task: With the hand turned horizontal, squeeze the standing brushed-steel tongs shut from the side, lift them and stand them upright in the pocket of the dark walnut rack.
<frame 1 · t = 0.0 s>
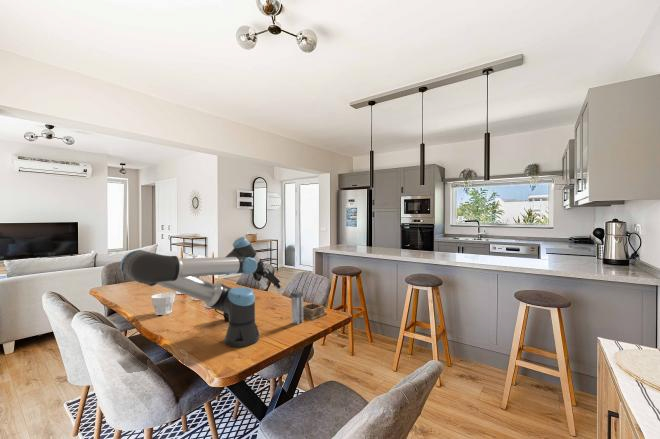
hand: (273, 289, 166), 15 cm above the table, tool tilted 35°, fingers open, 13 cm apart
coffee mug: (227, 319, 163), on the table
cup: (163, 314, 174), on the table
steel tongs: (297, 322, 156), on the table
walnut rack: (312, 315, 168), on the table
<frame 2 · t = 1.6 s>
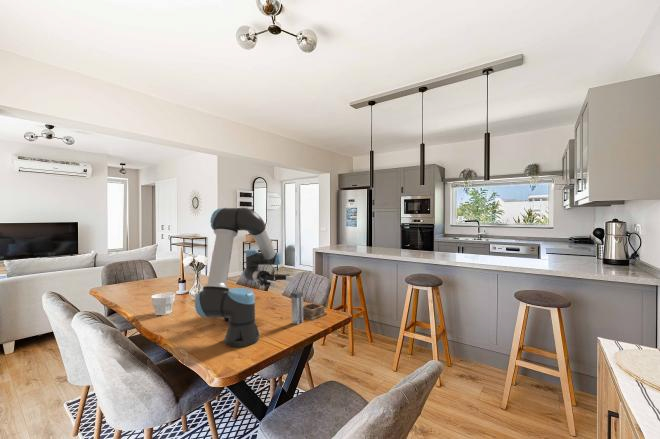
hand: (284, 282, 162), 20 cm above the table, tool horizontal, fingers open, 13 cm apart
nothing on the table moved.
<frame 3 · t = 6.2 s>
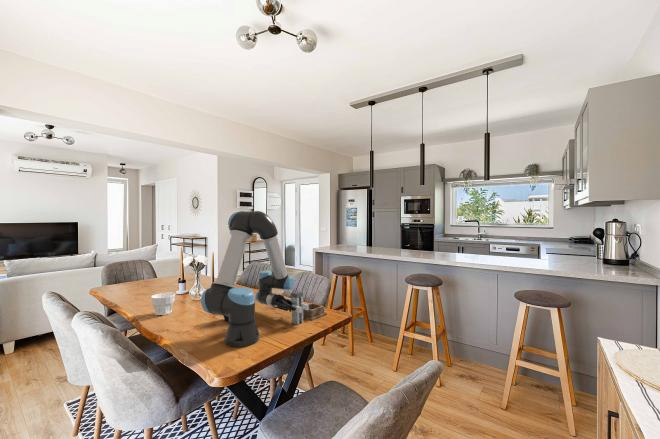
hand: (304, 308, 153), 8 cm above the table, tool horizontal, fingers closed on steel tongs, 4 cm apart
steel tongs: (297, 322, 156), on the table, touching gripper
everything else where it was.
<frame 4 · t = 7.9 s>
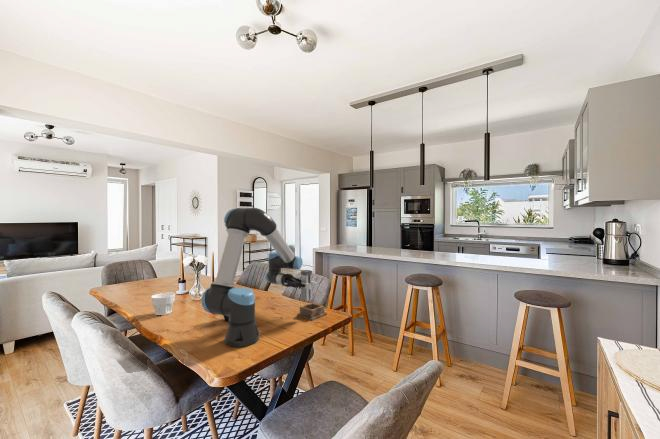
hand: (313, 285, 160), 19 cm above the table, tool horizontal, fingers closed on steel tongs, 4 cm apart
steel tongs: (306, 299, 164), point 10 cm above the table, touching gripper
everything else where it was.
when the fingers open (11 cm above the table, at t = 9.8 s): steel tongs drops 1 cm, resting on walnut rack.
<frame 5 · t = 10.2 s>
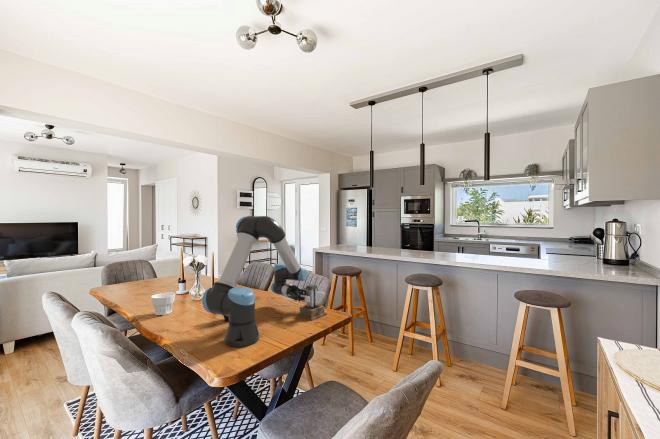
hand: (316, 297, 165), 11 cm above the table, tool horizontal, fingers open, 11 cm apart
steel tongs: (312, 313, 167), point 1 cm above the table, touching walnut rack
everything else where it was.
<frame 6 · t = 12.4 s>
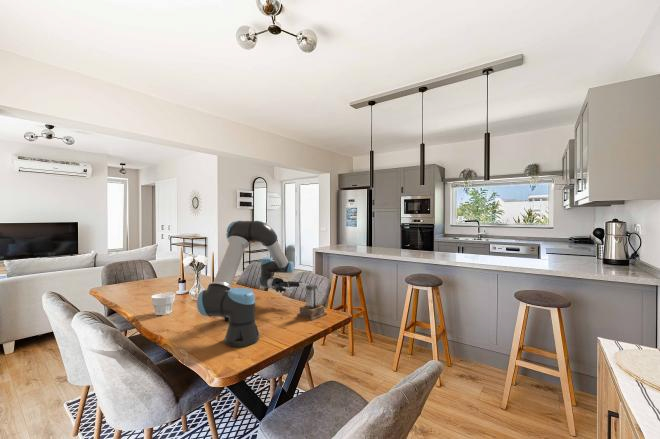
hand: (298, 288, 174), 14 cm above the table, tool horizontal, fingers open, 13 cm apart
nothing on the table moved.
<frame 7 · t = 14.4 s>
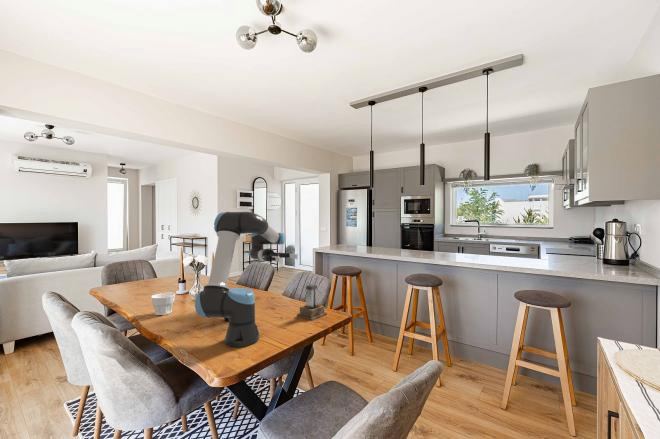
hand: (288, 258, 173), 32 cm above the table, tool horizontal, fingers open, 13 cm apart
nothing on the table moved.
at the end: steel tongs inside the target area on the walnut rack (0.0 cm from its centre), point 1.1 cm above the walnut rack's base; steel tongs tilted 0°; the gripper is holding nothing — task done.
